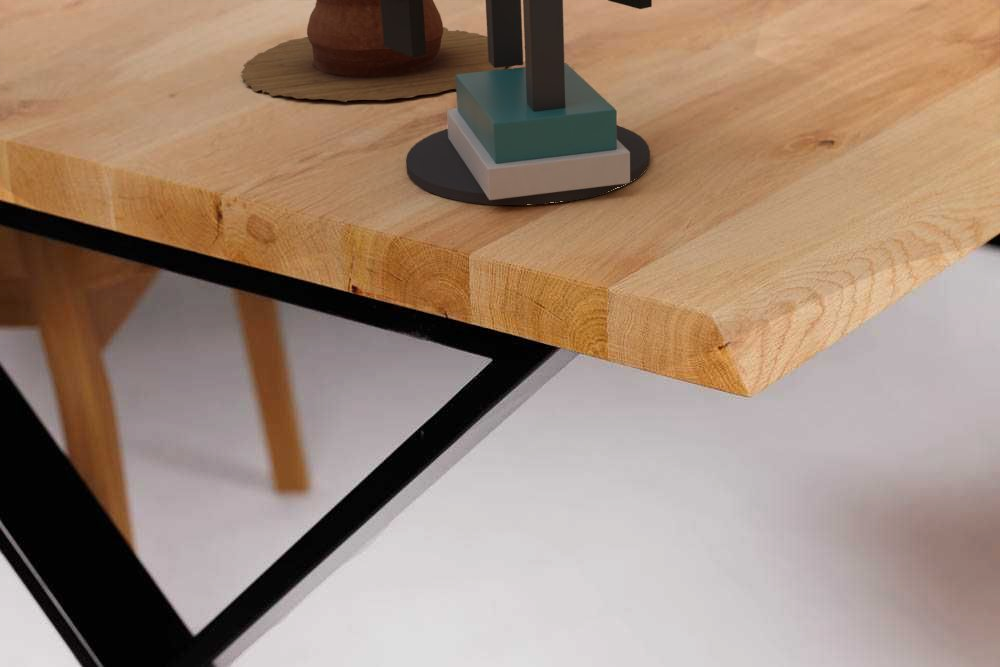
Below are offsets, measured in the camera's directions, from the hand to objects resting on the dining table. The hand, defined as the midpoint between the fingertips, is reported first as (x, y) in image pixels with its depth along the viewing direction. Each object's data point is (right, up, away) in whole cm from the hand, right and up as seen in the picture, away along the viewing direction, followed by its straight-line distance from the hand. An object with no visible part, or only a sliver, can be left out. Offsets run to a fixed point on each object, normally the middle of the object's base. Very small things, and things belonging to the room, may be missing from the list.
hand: (522, 26), depth 72 cm
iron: (0, -6, +3) cm, 7 cm away
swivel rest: (0, -6, +3) cm, 7 cm away
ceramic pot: (-9, +2, +22) cm, 24 cm away
